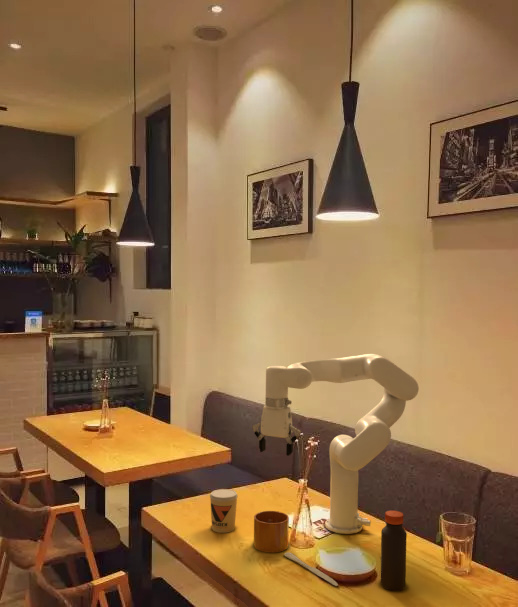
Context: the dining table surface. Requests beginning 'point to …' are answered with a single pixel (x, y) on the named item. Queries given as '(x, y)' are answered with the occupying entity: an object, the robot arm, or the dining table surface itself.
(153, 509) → the dining table surface
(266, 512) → the tumbler
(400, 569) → the bottle
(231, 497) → the coffee cup
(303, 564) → the butter knife
